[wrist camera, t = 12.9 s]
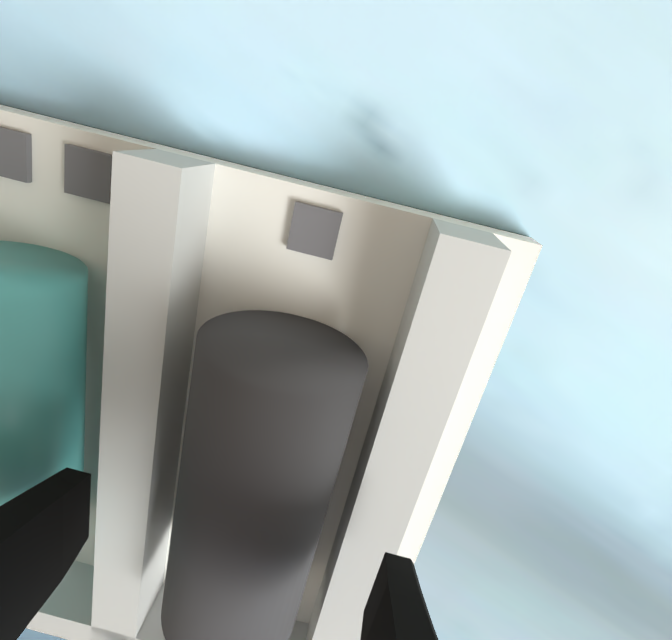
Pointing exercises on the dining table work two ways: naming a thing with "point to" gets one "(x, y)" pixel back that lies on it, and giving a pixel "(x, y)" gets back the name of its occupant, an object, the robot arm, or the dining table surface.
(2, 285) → the teal rounded tube
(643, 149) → the dining table surface
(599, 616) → the dining table surface
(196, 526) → the grey rounded cylinder
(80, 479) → the robot arm
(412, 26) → the dining table surface
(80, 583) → the comb rack
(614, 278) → the dining table surface
